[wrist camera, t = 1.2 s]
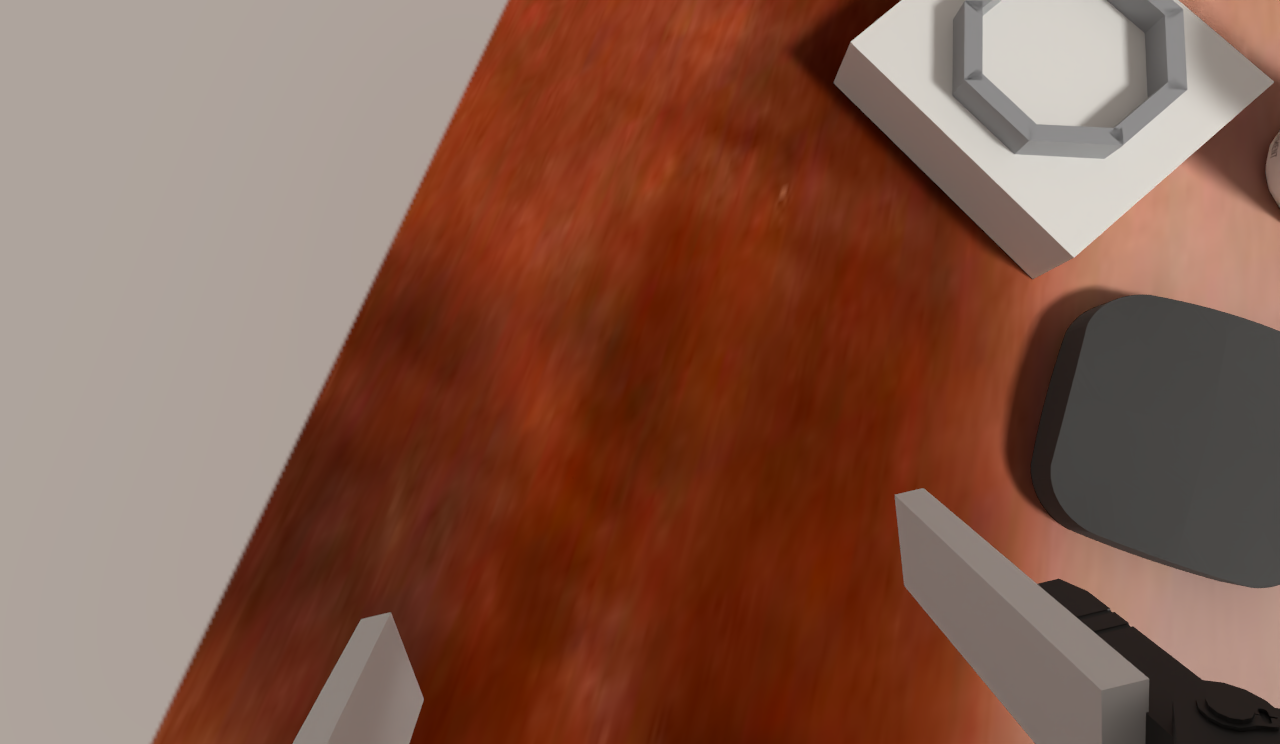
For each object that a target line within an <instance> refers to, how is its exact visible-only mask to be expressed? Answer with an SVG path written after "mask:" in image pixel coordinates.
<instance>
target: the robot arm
mask: <svg viewBox="0 0 1280 744" xmlns="http://www.w3.org/2000/svg"><path fill="white" fill-rule="evenodd" d="M895 503H896V513H897V522H898V531H899V540H900V550H901V559H902V568H903V578H904V586H905V587H906V588H907V590H908V591H909V592H910V593H911V594H912V596H913V597H914V598H915V599H916V600H917V602H918V603H919V604H920V605H921V606H922V608H923V609H924V610H925V611H926V613H927V614H928V615H929V616H930V617H931V619H932V620H933V621H934V622H935V623H936V625H937V626H938V627H939V628H940V629H941V631H942V632H943V633H944V634H945V635H946V637H947V638H948V639H949V640H950V641H951V643H952V644H953V645H954V646H955V647H956V649H957V650H958V651H959V652H960V653H961V655H962V656H963V657H964V658H965V659H966V661H967V662H968V663H969V664H970V666H971V667H972V668H973V669H974V670H975V672H976V673H977V674H978V675H979V676H980V678H981V679H982V680H983V681H984V682H985V684H986V685H987V686H988V687H989V688H990V690H991V691H992V692H993V693H994V694H995V696H996V697H997V698H998V699H999V700H1000V702H1001V703H1002V704H1003V705H1004V706H1005V708H1006V709H1007V710H1008V711H1009V713H1010V714H1011V715H1012V716H1013V717H1014V719H1015V720H1016V721H1017V722H1018V723H1019V725H1020V726H1021V727H1022V728H1023V729H1024V731H1025V732H1026V733H1027V734H1028V735H1029V737H1030V738H1031V739H1032V740H1033V741H1034V743H1035V744H1280V709H1278V708H1274V707H1273V706H1272V705H1270V704H1269V703H1268V702H1267V701H1265V700H1264V699H1262V698H1260V697H1258V696H1256V695H1254V694H1252V693H1250V692H1248V691H1247V690H1244V689H1241V688H1238V687H1235V686H1232V685H1229V684H1226V683H1221V682H1213V681H1205V680H1202V679H1200V678H1199V677H1198V676H1196V675H1195V674H1194V673H1193V672H1191V671H1190V670H1189V669H1187V668H1186V667H1185V666H1183V665H1182V664H1181V663H1180V662H1178V661H1177V660H1176V659H1174V658H1173V657H1172V656H1171V655H1169V654H1168V653H1167V652H1165V651H1164V650H1163V649H1161V648H1160V647H1159V646H1158V645H1156V644H1155V643H1154V642H1152V641H1151V640H1150V639H1149V638H1147V637H1146V636H1145V635H1143V634H1142V633H1141V632H1139V631H1138V630H1137V629H1136V628H1134V627H1130V626H1129V624H1128V622H1127V621H1125V620H1124V619H1123V618H1121V617H1120V616H1119V615H1118V614H1116V613H1115V612H1113V613H1112V612H1111V610H1110V608H1108V607H1107V606H1106V605H1105V604H1103V603H1102V602H1101V601H1099V600H1098V599H1097V598H1096V597H1094V596H1093V595H1092V594H1090V593H1089V592H1088V591H1086V590H1083V589H1081V588H1079V587H1076V586H1074V585H1072V584H1070V583H1067V582H1065V581H1063V580H1061V579H1056V580H1052V581H1048V582H1043V583H1039V584H1036V583H1035V582H1034V581H1033V580H1032V579H1030V578H1029V577H1028V576H1027V575H1026V574H1025V573H1023V572H1022V571H1021V570H1020V569H1019V568H1017V567H1016V566H1015V565H1014V564H1013V563H1012V562H1010V561H1009V560H1008V559H1007V558H1006V557H1004V556H1003V555H1002V554H1001V553H1000V552H999V551H997V550H996V549H995V548H994V547H993V546H991V545H990V544H989V543H988V542H987V541H985V540H984V539H983V538H982V537H981V536H980V535H978V534H977V533H976V532H975V531H974V530H972V529H971V528H970V527H969V526H968V525H967V524H965V523H964V522H963V521H962V520H961V519H959V518H958V517H957V516H956V515H955V514H953V513H952V512H951V511H950V510H949V509H948V508H946V507H945V506H944V505H943V504H942V503H940V502H939V501H938V500H937V499H936V498H935V497H933V496H932V495H931V494H930V493H929V492H927V491H926V490H925V489H924V488H922V489H917V490H913V491H909V492H905V493H900V494H896V495H895ZM423 701H424V698H423V696H422V693H421V690H420V688H419V685H418V682H417V680H416V677H415V674H414V672H413V669H412V667H411V664H410V661H409V659H408V656H407V653H406V651H405V648H404V645H403V643H402V640H401V638H400V635H399V632H398V630H397V627H396V624H395V622H394V619H393V616H392V614H391V612H390V613H385V614H381V615H377V616H372V617H368V618H364V619H361V620H360V622H359V624H358V625H357V627H356V629H355V631H354V633H353V635H352V636H351V638H350V640H349V642H348V644H347V645H346V647H345V649H344V651H343V653H342V655H341V656H340V658H339V660H338V662H337V664H336V665H335V667H334V669H333V671H332V673H331V674H330V676H329V678H328V680H327V682H326V684H325V685H324V687H323V689H322V691H321V693H320V694H319V696H318V698H317V700H316V702H315V704H314V705H313V707H312V709H311V711H310V713H309V714H308V716H307V718H306V720H305V722H304V724H303V725H302V727H301V729H300V731H299V733H298V734H297V736H296V738H295V740H294V742H293V744H409V743H410V740H411V737H412V734H413V731H414V728H415V725H416V722H417V719H418V716H419V713H420V710H421V707H422V704H423Z"/></svg>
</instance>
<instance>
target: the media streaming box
mask: <svg viewBox="0 0 1280 744" xmlns="http://www.w3.org/2000/svg"><path fill="white" fill-rule="evenodd" d="M1031 476H1032V482H1033V486H1034V489H1035V492H1036V494H1037V496H1038V498H1039V500H1040V502H1041V503H1042V505H1043V507H1044V508H1045V509H1046V510H1047V512H1048V513H1049V514H1050V515H1051V516H1052V517H1053V518H1054V519H1055V520H1056V521H1057V522H1059V523H1060V524H1061V525H1062V526H1064V527H1066V528H1067V529H1069V530H1072V531H1074V532H1076V533H1079V534H1081V535H1084V536H1086V537H1089V538H1091V539H1094V540H1096V541H1099V542H1101V543H1104V544H1107V545H1109V546H1112V547H1115V548H1117V549H1120V550H1123V551H1126V552H1128V553H1131V554H1134V555H1137V556H1140V557H1143V558H1146V559H1149V560H1152V561H1154V562H1158V563H1161V564H1164V565H1167V566H1170V567H1173V568H1176V569H1179V570H1183V571H1186V572H1189V573H1193V574H1196V575H1200V576H1203V577H1206V578H1210V579H1214V580H1217V581H1221V582H1226V583H1231V584H1236V585H1241V586H1246V587H1251V588H1267V587H1273V586H1277V585H1280V331H1277V330H1275V329H1272V328H1270V327H1267V326H1264V325H1262V324H1259V323H1256V322H1253V321H1250V320H1247V319H1244V318H1241V317H1238V316H1235V315H1231V314H1228V313H1225V312H1221V311H1218V310H1214V309H1211V308H1207V307H1203V306H1199V305H1195V304H1191V303H1186V302H1182V301H1177V300H1173V299H1168V298H1163V297H1158V296H1152V295H1132V296H1126V297H1122V298H1119V299H1116V300H1113V301H1110V302H1108V303H1105V304H1103V305H1100V306H1097V307H1095V308H1092V309H1090V310H1088V311H1086V312H1085V313H1083V314H1082V315H1080V316H1079V317H1078V318H1077V319H1076V320H1075V321H1074V322H1073V323H1072V324H1071V325H1070V327H1069V328H1068V330H1067V331H1066V333H1065V336H1064V339H1063V342H1062V345H1061V348H1060V351H1059V354H1058V358H1057V361H1056V364H1055V367H1054V371H1053V374H1052V377H1051V381H1050V385H1049V388H1048V392H1047V396H1046V399H1045V403H1044V407H1043V411H1042V415H1041V419H1040V424H1039V428H1038V433H1037V437H1036V442H1035V447H1034V452H1033V457H1032V462H1031Z"/></svg>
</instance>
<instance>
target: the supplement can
mask: <svg viewBox="0 0 1280 744" xmlns="http://www.w3.org/2000/svg"><path fill="white" fill-rule="evenodd" d="M1265 174H1266V179H1267V184H1268V188H1269V191H1270V193H1271V195H1272V196H1273V198H1274V199H1275V201H1276V203H1277V204H1278V206H1279V207H1280V131H1279V132H1278V134H1277V135H1276V137H1275V138H1274V140H1273V141H1272V142H1271V144H1270V146H1269V151H1268V156H1267V162H1266V170H1265Z"/></svg>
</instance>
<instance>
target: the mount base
mask: <svg viewBox="0 0 1280 744" xmlns="http://www.w3.org/2000/svg"><path fill="white" fill-rule="evenodd" d="M833 83H834V84H835V85H836V86H837V87H838V88H839V89H840V90H841V91H842V92H843V93H844V94H845V95H846V96H847V97H848V98H849V99H850V100H851V101H852V102H853V103H854V104H855V105H856V106H857V107H858V108H859V109H860V110H861V111H862V112H863V113H864V114H865V115H866V116H867V117H868V118H869V119H870V120H871V121H872V122H873V123H874V124H876V125H877V126H878V127H879V128H880V129H881V130H882V131H883V132H884V133H885V134H886V135H887V136H888V137H889V138H890V139H891V140H892V141H893V142H894V143H895V144H896V145H897V146H898V147H899V148H900V149H901V150H902V151H903V152H904V153H905V154H906V155H907V156H908V157H909V158H910V159H911V160H912V161H913V162H914V163H915V164H916V165H917V166H918V167H919V168H920V169H921V170H922V171H923V172H924V173H925V174H926V175H927V176H928V177H929V178H930V179H931V180H932V181H933V182H934V183H935V184H936V185H937V186H938V187H940V188H941V189H942V190H943V191H944V192H945V193H946V194H947V195H948V196H949V197H950V198H951V199H952V200H953V201H954V202H955V203H956V204H957V205H958V206H959V207H960V208H961V209H962V210H963V211H964V212H965V213H966V214H967V215H968V216H969V217H970V218H971V219H972V220H973V221H974V222H975V223H976V224H977V225H978V226H979V227H980V228H981V229H982V230H983V231H984V232H985V233H986V234H987V235H988V236H989V237H990V238H991V239H992V240H993V241H994V242H995V243H996V244H997V245H998V246H999V247H1000V248H1001V249H1002V250H1004V251H1005V252H1006V253H1007V254H1008V255H1009V256H1010V257H1011V258H1012V259H1013V260H1014V261H1015V262H1016V263H1017V264H1018V265H1019V266H1020V267H1021V268H1022V269H1023V270H1024V271H1025V272H1026V273H1027V274H1028V275H1029V276H1030V277H1031V278H1032V279H1034V278H1036V277H1038V276H1040V275H1042V274H1044V273H1046V272H1048V271H1049V270H1051V269H1053V268H1055V267H1057V266H1059V265H1061V264H1063V263H1065V262H1067V261H1068V260H1070V259H1072V258H1074V257H1075V256H1076V255H1077V254H1079V253H1080V252H1081V251H1082V250H1083V249H1084V248H1085V247H1087V246H1088V245H1089V244H1090V243H1091V242H1092V241H1093V240H1095V239H1096V238H1097V237H1098V236H1099V235H1100V234H1101V233H1103V232H1104V231H1105V230H1106V229H1107V228H1108V227H1109V226H1111V225H1112V224H1113V223H1114V222H1115V221H1116V220H1117V219H1119V218H1120V217H1121V216H1122V215H1123V214H1124V213H1125V212H1127V211H1128V210H1129V209H1130V208H1131V207H1132V206H1133V205H1135V204H1136V203H1137V202H1138V201H1139V200H1140V199H1141V198H1143V197H1144V196H1145V195H1146V194H1147V193H1148V192H1149V191H1151V190H1152V189H1153V188H1154V187H1155V186H1156V185H1157V184H1159V183H1160V182H1161V181H1162V180H1163V179H1164V178H1165V177H1167V176H1168V175H1169V174H1170V173H1171V172H1172V171H1173V170H1175V169H1176V168H1177V167H1178V166H1179V165H1180V164H1182V163H1183V162H1184V161H1185V160H1186V159H1187V158H1188V157H1190V156H1191V155H1192V154H1193V153H1194V152H1195V151H1196V150H1198V149H1199V148H1200V147H1201V146H1202V145H1203V144H1204V143H1206V142H1207V141H1208V140H1209V139H1210V138H1211V137H1212V136H1214V135H1215V134H1216V133H1217V132H1218V131H1219V130H1220V129H1222V128H1223V127H1224V126H1225V125H1226V124H1227V123H1228V122H1230V121H1231V120H1232V119H1233V118H1234V117H1235V116H1236V115H1238V114H1239V113H1240V112H1241V111H1242V110H1243V109H1244V108H1246V107H1247V106H1248V105H1249V104H1250V103H1251V102H1252V101H1254V100H1255V99H1256V98H1257V97H1258V96H1259V95H1260V94H1262V93H1263V92H1264V91H1265V90H1266V89H1267V88H1268V87H1270V86H1271V85H1272V84H1273V83H1274V81H1273V80H1272V79H1270V78H1269V77H1268V76H1267V75H1266V74H1265V73H1263V72H1262V71H1261V70H1260V69H1259V68H1257V67H1256V66H1255V65H1254V64H1253V63H1252V62H1250V61H1249V60H1248V59H1247V58H1246V57H1245V56H1243V55H1242V54H1241V53H1240V52H1239V51H1237V50H1236V49H1235V48H1234V47H1233V46H1232V45H1230V44H1229V43H1228V42H1227V41H1226V40H1225V39H1223V38H1222V37H1221V36H1220V35H1219V34H1218V33H1216V32H1215V31H1214V30H1213V29H1212V28H1210V27H1209V26H1208V25H1207V24H1206V23H1205V22H1203V21H1202V20H1201V19H1200V18H1199V17H1198V16H1196V15H1195V14H1194V13H1193V12H1192V11H1190V10H1189V9H1188V8H1187V7H1186V6H1185V5H1183V4H1182V3H1181V2H1180V1H1179V0H901V1H900V2H899V3H897V4H896V5H895V6H894V7H893V8H891V9H890V10H889V11H888V12H886V13H885V14H884V15H883V16H882V17H880V18H879V19H878V20H877V21H875V22H874V23H873V24H872V25H871V26H869V27H868V28H867V29H866V30H864V31H863V32H862V33H861V34H860V35H858V36H857V37H856V38H855V39H853V40H852V41H851V42H850V44H849V47H848V49H847V51H846V54H845V56H844V59H843V61H842V63H841V66H840V68H839V70H838V73H837V75H836V78H835V80H834V82H833Z"/></svg>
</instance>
